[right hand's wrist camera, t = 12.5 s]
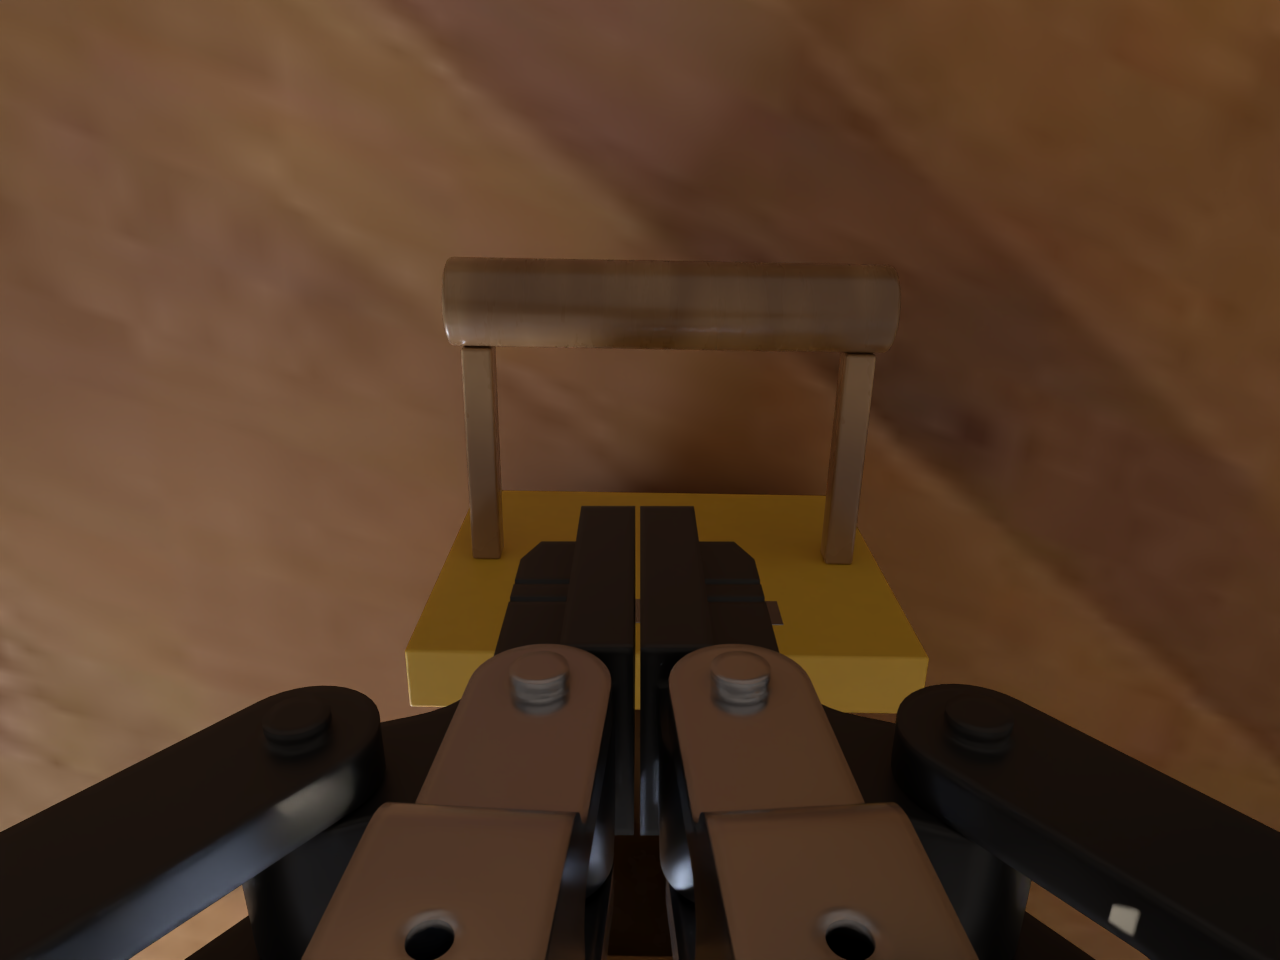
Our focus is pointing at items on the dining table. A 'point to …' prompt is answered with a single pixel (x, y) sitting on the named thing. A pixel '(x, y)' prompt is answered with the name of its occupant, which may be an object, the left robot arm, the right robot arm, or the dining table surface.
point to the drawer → (760, 524)
